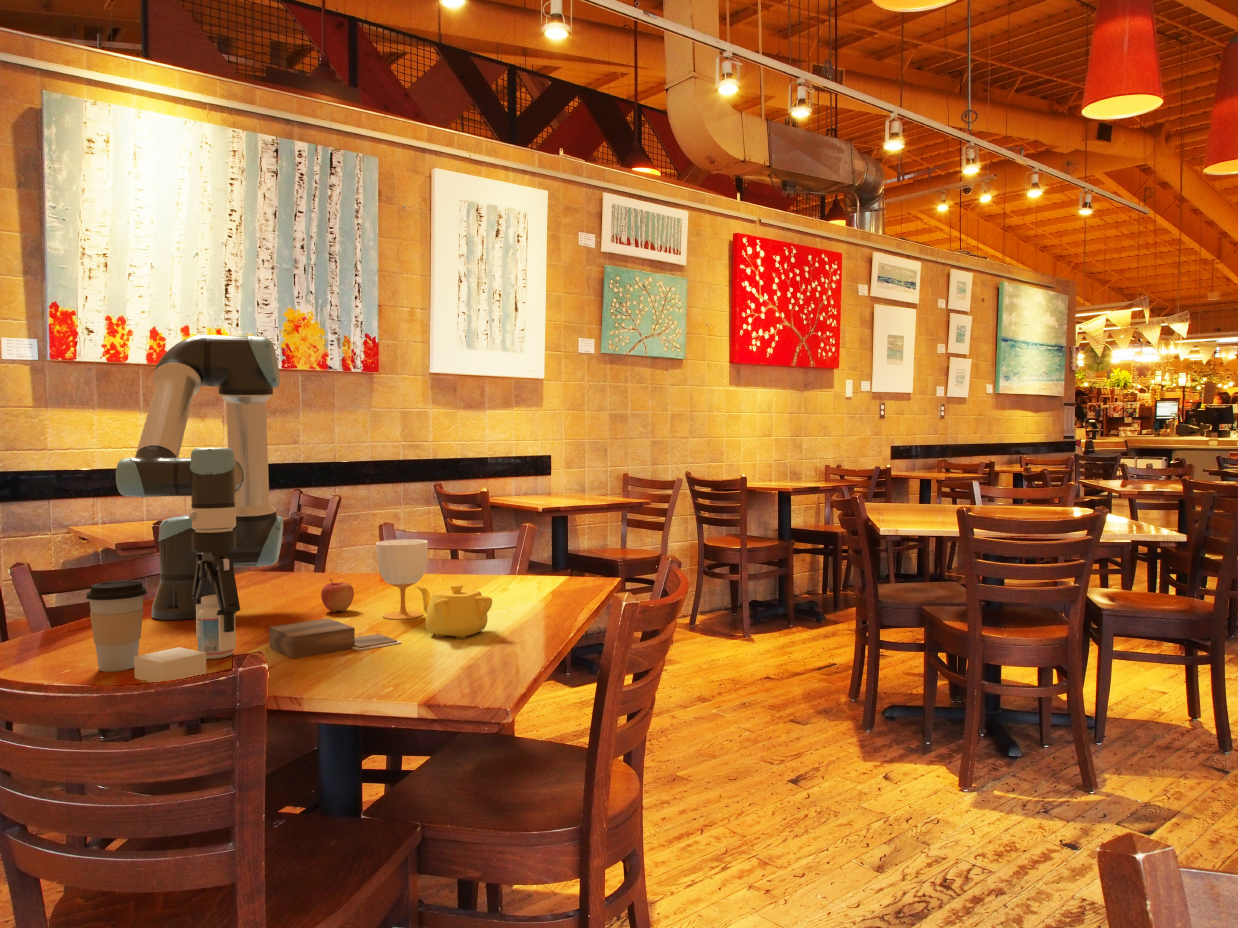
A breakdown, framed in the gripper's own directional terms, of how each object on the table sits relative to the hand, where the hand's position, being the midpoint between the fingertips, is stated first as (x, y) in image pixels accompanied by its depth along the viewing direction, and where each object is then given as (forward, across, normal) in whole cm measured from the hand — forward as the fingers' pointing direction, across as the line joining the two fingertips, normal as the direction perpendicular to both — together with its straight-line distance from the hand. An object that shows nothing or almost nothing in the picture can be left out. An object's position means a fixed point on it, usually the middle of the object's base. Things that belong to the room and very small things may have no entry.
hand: (215, 643), depth 164 cm
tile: (+2, +10, +26) cm, 28 cm away
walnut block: (+2, +6, +16) cm, 17 cm away
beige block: (+3, +9, -10) cm, 14 cm away
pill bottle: (+3, 0, 0) cm, 3 cm away
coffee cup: (+3, -3, -16) cm, 16 cm away
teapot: (+3, +14, +43) cm, 45 cm away
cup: (+2, -10, +44) cm, 45 cm away
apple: (+2, -25, +35) cm, 43 cm away
